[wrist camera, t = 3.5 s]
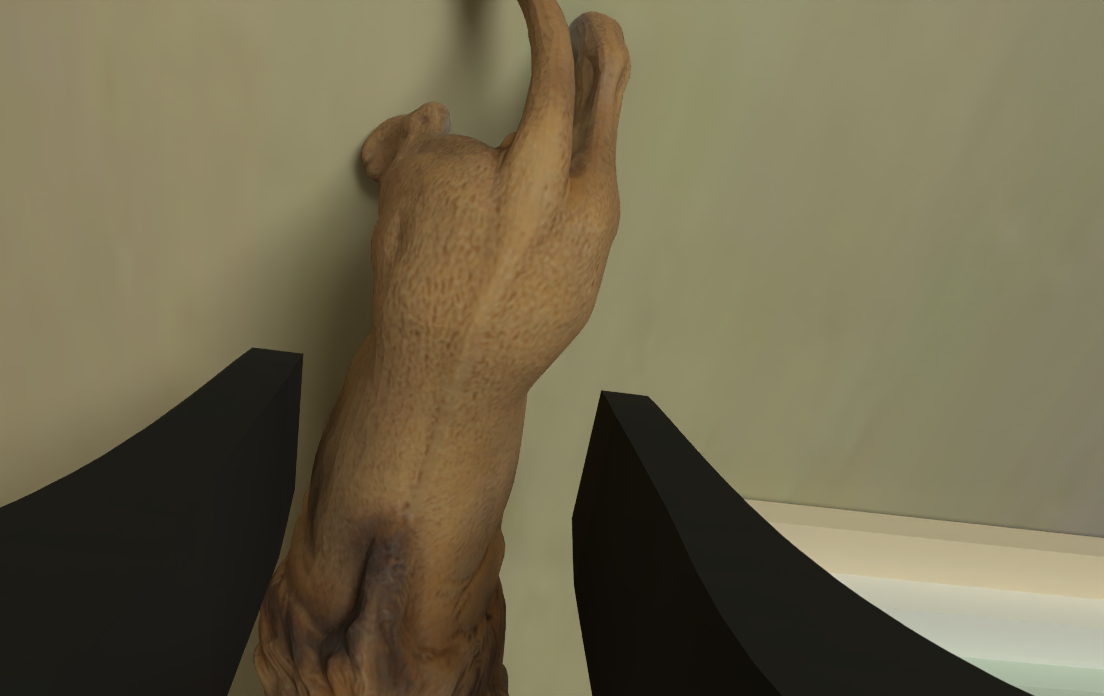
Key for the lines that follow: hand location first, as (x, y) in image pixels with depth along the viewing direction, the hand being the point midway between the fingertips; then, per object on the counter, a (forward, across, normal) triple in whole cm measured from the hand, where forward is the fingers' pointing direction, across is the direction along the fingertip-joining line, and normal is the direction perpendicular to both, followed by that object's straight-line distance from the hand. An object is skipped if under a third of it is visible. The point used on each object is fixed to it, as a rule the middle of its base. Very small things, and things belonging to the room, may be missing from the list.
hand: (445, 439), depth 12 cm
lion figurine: (+4, 0, 0) cm, 4 cm away
